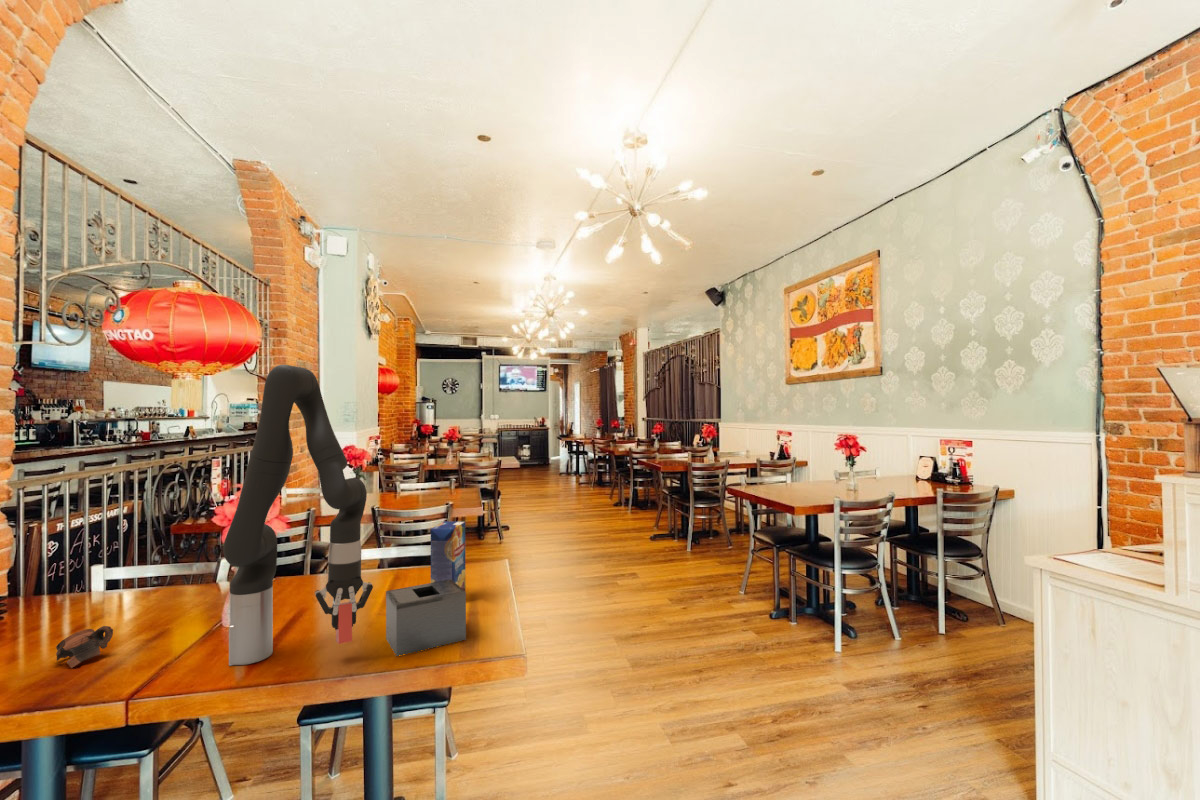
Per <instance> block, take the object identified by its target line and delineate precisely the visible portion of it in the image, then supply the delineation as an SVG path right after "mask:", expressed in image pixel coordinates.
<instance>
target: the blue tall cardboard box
mask: <svg viewBox="0 0 1200 800" xmlns="http://www.w3.org/2000/svg"><path fill="white" fill-rule="evenodd" d="M445 580H453V581H454V582H455V583H456V584H457V585H458V586H459V587H461V588H462V589H463V590H464V591H465V592H466V521H451V520H450V521H442V522H441V523H439V524H437V525H435V526H433V527H431V528H430V583H434V582H439V581H445ZM466 593H467V592H466Z"/></svg>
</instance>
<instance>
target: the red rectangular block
mask: <svg viewBox="0 0 1200 800" xmlns="http://www.w3.org/2000/svg"><path fill="white" fill-rule="evenodd" d="M335 642H336V643H337V644H338V645H340V644H345V643H350V642H353V627H352V603H350V602H349V601H347V602H340V605H339V608H338V629H337V630H335Z"/></svg>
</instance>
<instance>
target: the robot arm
mask: <svg viewBox="0 0 1200 800" xmlns="http://www.w3.org/2000/svg"><path fill="white" fill-rule="evenodd" d="M263 388H264V389H263V393H262V401H261V409H260V416H259V420H258V423H257V424H258V425H257V428H256V433H255V438H254V442H253V444H252V445H253V446H252V449H251V452H250V454H249V455H250V456H249V459H248V463H247V467H246V470H245V471H246V472H245V477H244V480H243V484H242V488H241V491H240V495H239V499H238V503H237V507H236V510H235V513H234V516H233V518H232V521H231V522H230V526H229V528H228V531H227V534H226V537H225V539H224V541H223V548H222V552H223V553H222V554H223V556H224V558H225V561H226V562H227V563H228V564H229V565H230V566H233V567H235V568H237V570H236V573H235V575H234V576H233V577H232V579H231V580H230V582H229V624H228V626H229V627H228V666H229V667H230V666H231V667H232V666H245V665H251V664H254V663H259V662H261V661H264V660H265V659H267V658H269V657H270V656H271V655H273V652H274V651H273V650H274V649H273V647H274V642H273V641H274V640H273V639H274V637H273V634H274V633H273V632H274V629H273V628H274V626H273V623H274V622H273V621H274V617H273V616H274V612H273V610H274V609H273V608H274V607H273V606H274V604H273V603H274V601H273V599H274V598H273V593H274V592H273V591H274V587H273V585H274V584H273V583H274V577H275V575H276V573H277V572H276V571H277V563H278V562H277V561H278V538H277V537H278V536H277V535H276V532H275V530H274V529H273V528H272V526H270V525H268V524H266V520H267V518H268V514H269V512H270V509H271V507H272V506H273V505H274V502H275V501H276V499H277V497H278V496H279V495H280V493H281V491H282V490H283V488H284V486H285V484H286V481H287V480H288V478H289V474H290V469H291V465H292V461H293V457H294V448H293V442H292V441H293V440H292V437H291V432H290V418H291V414H292V409H293V407H294V404H295V405H296V407H297V409H298V410H299V412H300V413H301V415H302V419H303V421H304V425H305V440H306V446H307V450H308V452H309V456H310V457H311V458H312V462H313V463H314V466H315V467H316V469H317V472H318V476H319V477H318V478H319V484H320V488H321V493H322V497H323V498H324V499H323V500H324V501H325V502H326V504H327V505H328V506H329V507H330V508H331V509H335V510H338V514H337V516H335V517H334V518H333V519H332V520H331V522H330V527H329V546H328V555H327V559H328V560H327V561H328V562H327V563H328V564H327V565H328V566H327V567H328V568H327V569H328V570H327V572H328V573H327V577H328V578H327V583H326V584H325V586H324V587H323V588H322V589H317V590H315V592H314V595H315V598H316V599H317V602H318V604H319V605H320V608H321V609H322V611H323V613H324V614H325V615H331V626H332V628H333V629H334V630H335V631H336V630H337V629H338V608H339V605H340V603H341V602H342V601H343V600H349V601H348V602H350V603H352V628H353V627H354V625H355V624H356V622H357V611H358V610H359V609H363V608H364V607H365V605H366V603H367V602H368V599H369V597H370V595H371V593H372V590H373V588H374V585H373V583H372V582H365V581H363V578H362V543H361V534H362V533H361V532H362V531H361V522H362V518H363V517H364V511H365V507H366V503H367V498H368V497H367V494H368V492H367V488H366V485H365V484H364V482H363V480H361V479H359V478H357V477H349V478H346V477H345V473H344V469H346V468H347V466H348V460H347V457H346V455H345V453H344V451H343V449H342V447H341V445H340V443H339V440H338V438H337V436H336V435H335V431H334V429H333V427H332V424H331V421H330V419H329V415H328V412H327V409H326V406H325V402H324V400H323V399H324V398H323V396H322V392H321V389H320V384H319V381H318V379H317V377H316V375H315V374H314V372H313V371H312V370H310V369H308V368H306V367H301V366H296V365H289V364H279V365H276V366H275V367H273V368H272V369H271V370H270V371H269V372H268V375H266V379H265V382H264V387H263ZM361 588H362V589H361ZM360 589H361V590H362V593H361V595H360V598H359V600H358V602H357V599H356V595H357V593H358V592H359V590H360ZM327 592H328V593H329V595H330V596H331V597H332V606H331V607H330V606H329V605H328V603H327V601H326V600H325V599H326V598H327Z"/></svg>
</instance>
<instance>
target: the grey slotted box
mask: <svg viewBox="0 0 1200 800" xmlns="http://www.w3.org/2000/svg"><path fill="white" fill-rule="evenodd" d="M465 591H466V590H465ZM465 591H464V590H463V589H462V588H461V587H459V586H458V585H457V584H456V583H455V582H454V581H453V580H445V581H439V582H434V583H431V582H429V583H424V584H418V585H411V586H406V587H403V588H402V587H401V588H396V589H391V590H386V591H385V607H386V608H385V619H386V620H385V627H386V628H385V632H386V633H385V639H386V641H387V643H388V645H389V644H390V645H389V646H390V649H391V650H392V649H393V650H392V652H393V651H394V652H393V653H395V654H396V655H395V654H394V655H395V657H396V656H399V655H403V654H408V653H412V654H414V653H413V652H416V653H419V652H418V651H420V652H422V651H421V650H424V651H426V650H425V649H428V648H432V649H434V648H433V647H436V648H438V647H437V646H440V647H442V646H441V645H444V646H446V645H445V644H448V645H451V644H450V643H452V644H455V643H454V642H457V643H459V642H458V641H461V642H463V641H462V640H465V641H467V601H466V600H467V592H465ZM428 650H429V649H428ZM408 655H409V654H408Z"/></svg>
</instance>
